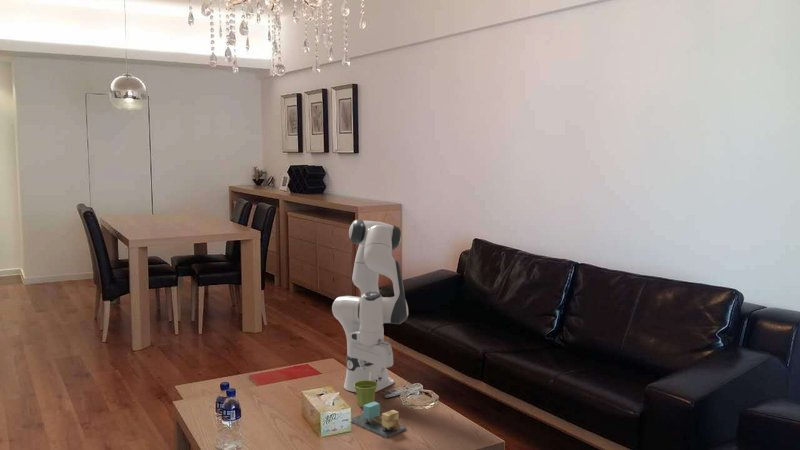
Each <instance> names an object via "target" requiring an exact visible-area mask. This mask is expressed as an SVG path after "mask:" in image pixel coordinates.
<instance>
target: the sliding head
mask: <svg viewBox="0 0 800 450" xmlns="http://www.w3.org/2000/svg"><path fill="white" fill-rule="evenodd" d="M380 407H381V404H380V403H378V402H377V401H375V400H374V402H371V403H368V404H366V405H363V407H362V408H363V410H362V411H363V417H364V418H366V422H368V419H371V418H374V417H377V416H381V408H380Z"/></svg>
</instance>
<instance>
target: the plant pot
mask: <svg viewBox="0 0 800 450" xmlns="http://www.w3.org/2000/svg"><path fill="white" fill-rule="evenodd" d="M376 386H377V383H376V382H374V381H369V380H363V381H358V382H356V383H354V387H355V389H356V392H355V394H356V398H357V405H358V406H359V407H360V408H363V405H366V404H368V403H371V402H374V401H375V397H376V392H375V390H376Z"/></svg>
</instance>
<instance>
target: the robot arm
mask: <svg viewBox="0 0 800 450" xmlns="http://www.w3.org/2000/svg"><path fill="white" fill-rule="evenodd" d="M348 237H349V241H350V242H351V243H352V244H355V245H358V248H357V251H356V255H355V259H354V265H353V271H352V276H351V279H352V283H353V285H354V286H355V287H357V288H358V289H359V291H360V296H353V295H343V296H342V295H341V296H338V297H336V299H334V301H333V302H332V305H331V313H332V315H333V316H334V317H333V318H335V319H336V320H337V321H338V322H339V323H340V324H341V326H342V328H343V330H344V332H345V333H344V334H345V336H346V337H345V338H346V348H347V349H346V350H347V353H346V358H345V360H346V361H345V363H346V373H345V379H344V383H343V388H344V390H346V391H349V392H353V393H356V389H355V387H354V383H356V382H358V381H363V380H369V381H374V382H376V383H377V386H376V390H375V393H377V392H379V391H381V390H383V389H385V388H387V387H389V386H391V385H393V384H394V383H395V381H394V379H393V378H391V377H390V375H389V371H388V368H391V367H392V366H393V365H394V353H393V348H392V345H391V344H390V343H389V341H386V340H384V338H385V337H384V335H385V334H384V332H385V331H384V324H394V325H401V324H402V323H404V322H405V321H406V320H407V319H408V317H409V306H408V303H407V302H408V301H407V299H406V295H405V288H404V280H403V274H402V271H401V270H402V269H401V265H400V263H399V262H398V260H396V259H394V257H393V253H392V252H393V250H395V249H397V248H398V247H399V245H400V243H401V241H402V230H401V229H400V227H399V226H397V225H395V224H389V223H386V222H382V221H374V220H363V219H355V220H353V221H352V223H351V225H350V226H349V230H348ZM380 275H381V276H385V277H387V278H388V279H390V280H391V281H392V287H393V293H394V296H389V297H388V296H385V297H384V296H382V294H381V293H380V289H379V276H380Z"/></svg>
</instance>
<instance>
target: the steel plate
mask: <svg viewBox="0 0 800 450" xmlns="http://www.w3.org/2000/svg"><path fill="white" fill-rule="evenodd" d="M351 418H352V422H353V423H352V422H351V423H352V424H353V425H356V424H357V425H356V426H358V427H361V428H363V429H364V430H368V431H369V432H371V433H372V432H373V433H374V434H376V435H378V436H381V437H383V438H385V439H387V438H389V437H392V436H395V435H397V434H399V433H402V432H405V431H407V426H404V425H402V424H400V425H401V429H399V430H395V429H392V428H387V431H385V427H383V426H382V424H381V423H378V422H376V421H374V420H371V419H368V422H366V418H364V417H363V416H362V414H360V415H356V416H354V417H351Z"/></svg>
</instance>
